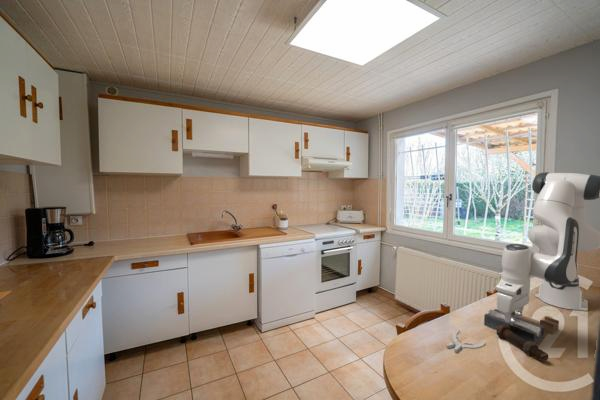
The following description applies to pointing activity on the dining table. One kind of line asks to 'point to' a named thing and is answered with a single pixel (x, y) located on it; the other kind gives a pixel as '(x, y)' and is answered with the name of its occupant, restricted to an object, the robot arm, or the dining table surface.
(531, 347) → the bolt
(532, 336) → the v block
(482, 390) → the dining table surface
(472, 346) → the pliers
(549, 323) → the beam
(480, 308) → the dining table surface
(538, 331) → the axle
